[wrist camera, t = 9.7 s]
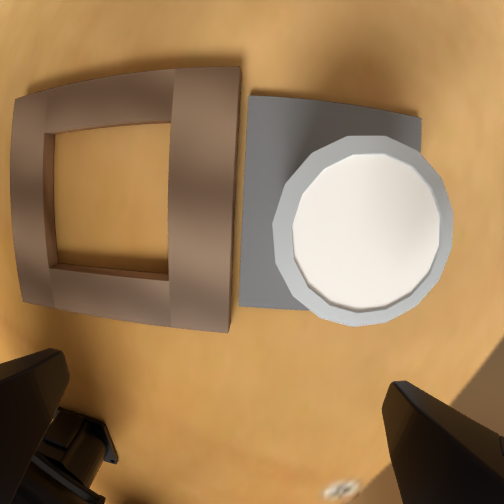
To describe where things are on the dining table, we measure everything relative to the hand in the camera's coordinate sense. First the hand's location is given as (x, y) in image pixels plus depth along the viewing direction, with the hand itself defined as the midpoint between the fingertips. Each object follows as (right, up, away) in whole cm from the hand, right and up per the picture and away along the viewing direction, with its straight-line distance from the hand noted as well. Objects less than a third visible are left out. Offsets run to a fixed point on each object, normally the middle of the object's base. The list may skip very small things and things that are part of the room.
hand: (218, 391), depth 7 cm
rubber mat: (+5, +6, +10) cm, 13 cm away
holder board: (-8, +7, +10) cm, 15 cm away
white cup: (+5, +6, +10) cm, 12 cm away
